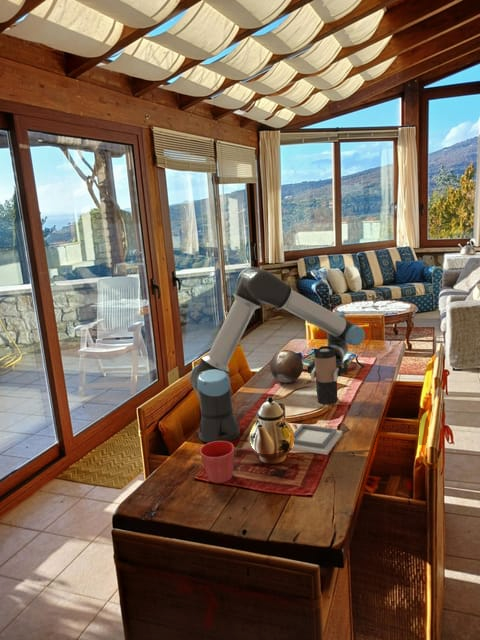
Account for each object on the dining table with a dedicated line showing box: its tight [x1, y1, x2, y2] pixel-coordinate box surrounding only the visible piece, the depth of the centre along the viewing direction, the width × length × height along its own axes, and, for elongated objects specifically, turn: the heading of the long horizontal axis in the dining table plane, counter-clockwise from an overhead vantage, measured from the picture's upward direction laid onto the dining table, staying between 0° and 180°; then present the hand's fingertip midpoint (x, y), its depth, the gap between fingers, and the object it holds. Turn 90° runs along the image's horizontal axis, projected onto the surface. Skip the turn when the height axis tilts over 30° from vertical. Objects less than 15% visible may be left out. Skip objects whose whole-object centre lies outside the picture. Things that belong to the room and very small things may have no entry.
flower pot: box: [199, 441, 235, 484], centre depth 161 cm, size 11×11×10 cm
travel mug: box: [313, 345, 338, 406], centre depth 188 cm, size 8×8×20 cm
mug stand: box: [292, 424, 343, 456], centre depth 179 cm, size 16×16×2 cm
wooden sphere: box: [269, 349, 304, 384], centre depth 238 cm, size 15×15×15 cm
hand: (323, 377), depth 183 cm, fingers closed on travel mug, 7 cm apart
